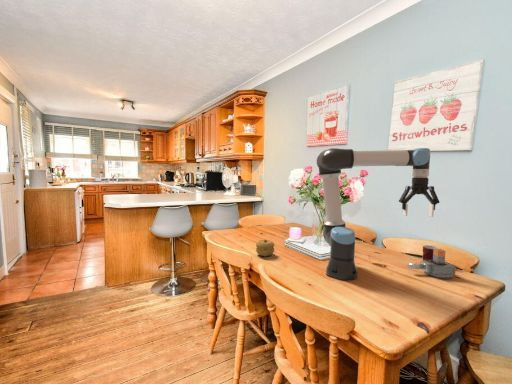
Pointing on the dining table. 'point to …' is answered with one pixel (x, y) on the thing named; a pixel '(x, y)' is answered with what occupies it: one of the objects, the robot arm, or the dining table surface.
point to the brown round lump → (265, 247)
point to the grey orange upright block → (439, 257)
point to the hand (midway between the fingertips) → (418, 215)
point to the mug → (428, 252)
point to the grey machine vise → (435, 269)
